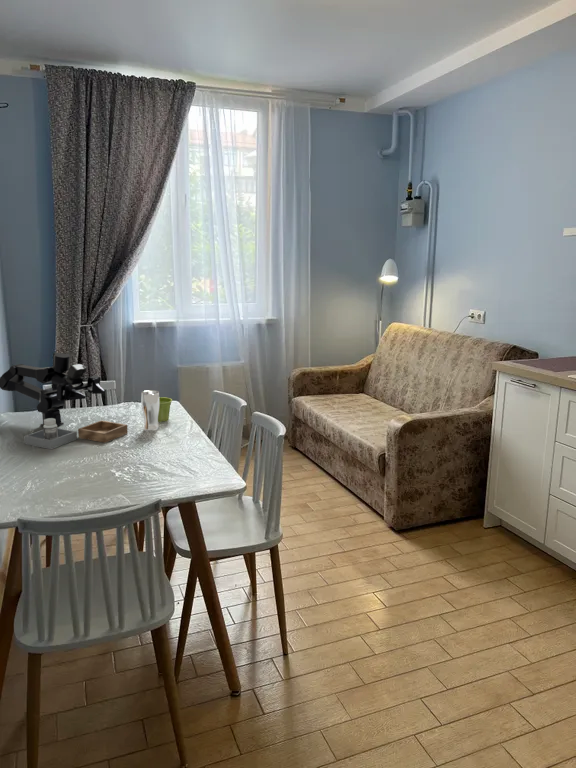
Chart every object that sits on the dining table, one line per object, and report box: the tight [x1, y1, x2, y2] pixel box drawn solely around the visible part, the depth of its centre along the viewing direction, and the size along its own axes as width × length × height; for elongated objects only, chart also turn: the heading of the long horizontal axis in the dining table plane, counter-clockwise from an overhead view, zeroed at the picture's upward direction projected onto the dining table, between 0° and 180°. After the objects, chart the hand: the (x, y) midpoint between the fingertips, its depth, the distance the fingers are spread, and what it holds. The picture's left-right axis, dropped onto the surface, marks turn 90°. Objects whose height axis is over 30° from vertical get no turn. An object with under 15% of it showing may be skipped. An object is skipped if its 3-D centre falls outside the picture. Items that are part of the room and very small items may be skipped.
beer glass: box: [140, 390, 160, 432], centre depth 228 cm, size 7×7×15 cm
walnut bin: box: [77, 419, 128, 444], centre depth 221 cm, size 13×13×4 cm
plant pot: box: [158, 396, 173, 423], centre depth 241 cm, size 9×9×9 cm
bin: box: [23, 427, 78, 450], centre depth 213 cm, size 13×13×3 cm
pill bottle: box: [42, 418, 58, 440], centre depth 212 cm, size 5×5×8 cm
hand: (94, 394), depth 217 cm, fingers open, 9 cm apart
